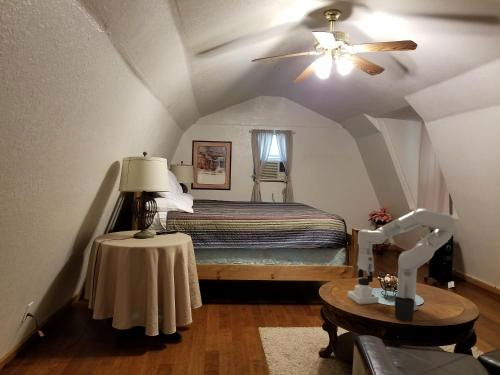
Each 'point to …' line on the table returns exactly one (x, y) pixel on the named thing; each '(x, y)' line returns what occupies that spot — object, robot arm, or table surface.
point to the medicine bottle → (363, 288)
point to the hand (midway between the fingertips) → (365, 279)
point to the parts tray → (362, 300)
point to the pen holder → (404, 308)
